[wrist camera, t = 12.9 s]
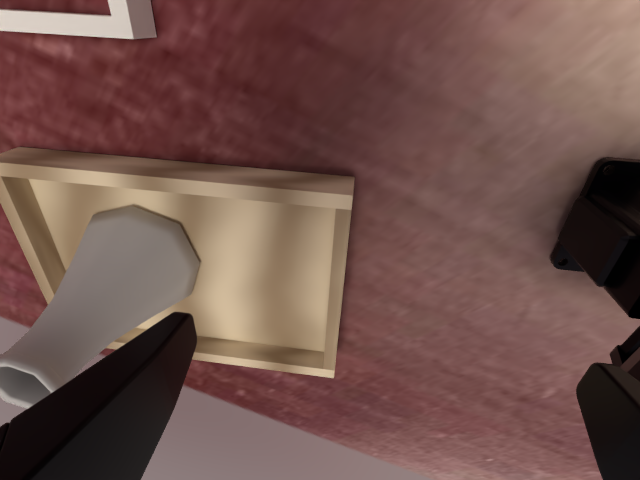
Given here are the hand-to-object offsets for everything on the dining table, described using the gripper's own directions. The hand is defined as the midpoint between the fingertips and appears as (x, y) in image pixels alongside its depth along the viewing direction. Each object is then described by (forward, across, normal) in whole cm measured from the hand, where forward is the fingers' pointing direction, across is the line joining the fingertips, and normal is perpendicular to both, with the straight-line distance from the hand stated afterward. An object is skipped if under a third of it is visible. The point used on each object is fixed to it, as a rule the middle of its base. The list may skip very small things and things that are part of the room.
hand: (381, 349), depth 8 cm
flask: (+12, +14, +7) cm, 20 cm away
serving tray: (+13, +11, +8) cm, 19 cm away
